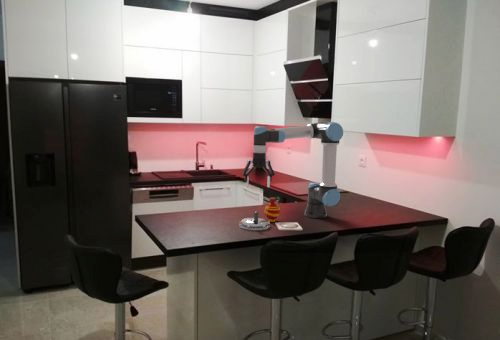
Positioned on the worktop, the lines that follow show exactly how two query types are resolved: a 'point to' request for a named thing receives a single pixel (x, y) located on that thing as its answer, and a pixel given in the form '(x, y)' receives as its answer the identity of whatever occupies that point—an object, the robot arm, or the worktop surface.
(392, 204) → the worktop surface
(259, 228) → the sprocket base
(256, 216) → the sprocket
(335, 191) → the robot arm
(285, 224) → the seat
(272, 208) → the potion bottle
